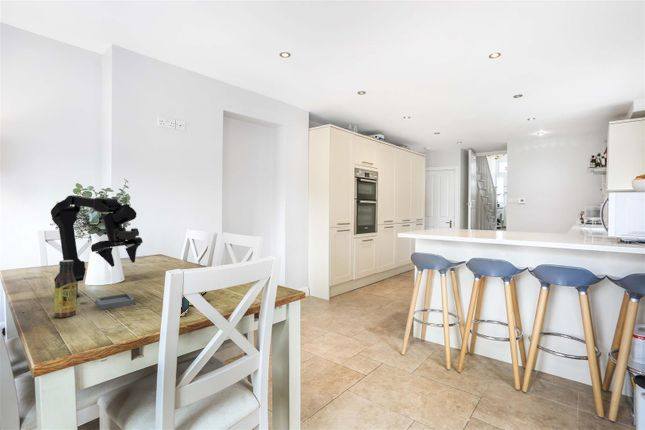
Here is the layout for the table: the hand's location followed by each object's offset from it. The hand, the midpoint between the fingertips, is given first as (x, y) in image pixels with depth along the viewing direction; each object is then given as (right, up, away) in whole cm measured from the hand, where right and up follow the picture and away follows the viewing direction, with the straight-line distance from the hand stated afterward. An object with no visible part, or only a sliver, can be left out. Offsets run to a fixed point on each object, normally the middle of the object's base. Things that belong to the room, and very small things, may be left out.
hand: (123, 264), depth 128 cm
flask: (+28, -17, -8) cm, 34 cm away
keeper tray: (-4, -16, +1) cm, 17 cm away
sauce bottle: (-13, -17, -13) cm, 25 cm away
